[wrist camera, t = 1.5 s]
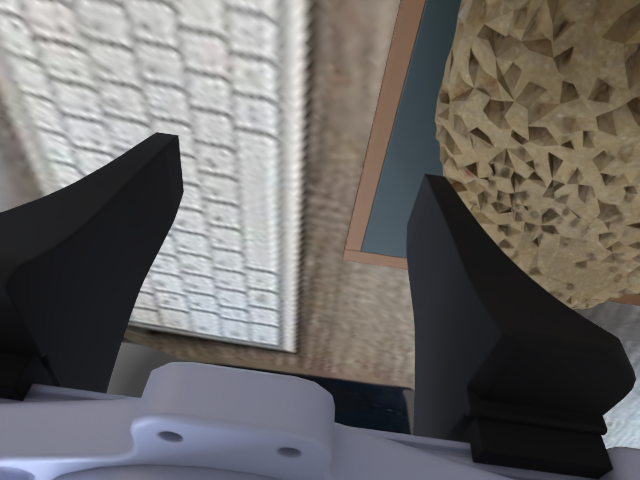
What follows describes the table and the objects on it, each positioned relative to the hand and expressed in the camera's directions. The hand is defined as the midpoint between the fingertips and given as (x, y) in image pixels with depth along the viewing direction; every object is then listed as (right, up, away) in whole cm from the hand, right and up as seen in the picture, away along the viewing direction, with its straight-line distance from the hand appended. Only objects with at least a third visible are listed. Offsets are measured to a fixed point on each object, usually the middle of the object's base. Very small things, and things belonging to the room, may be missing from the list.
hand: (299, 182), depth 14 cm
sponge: (+12, +5, +8) cm, 15 cm away
